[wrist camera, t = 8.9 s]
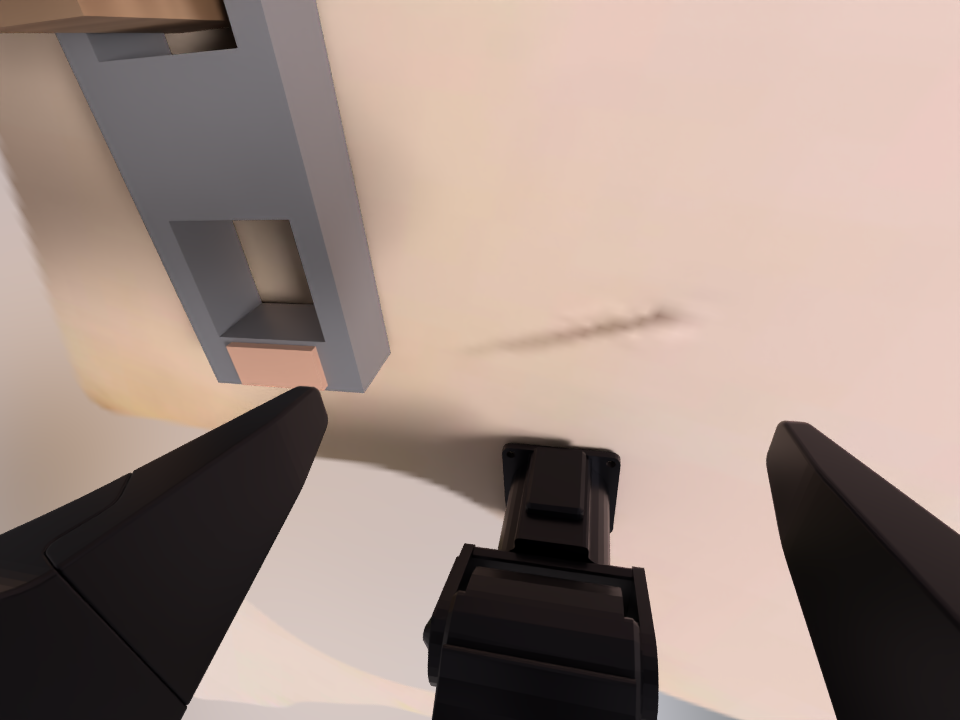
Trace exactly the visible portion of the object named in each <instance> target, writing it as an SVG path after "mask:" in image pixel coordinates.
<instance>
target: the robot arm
mask: <svg viewBox="0 0 960 720" xmlns="http://www.w3.org/2000/svg"><path fill="white" fill-rule="evenodd" d="M327 424H328V416H327V413H326V410H325V407H324V404H323V400H322V397H321V394H320V392H319V390H318V389H317V388H315V387H309V386H297V387H295V388H293V389H291V390H289V391H287V392H285V393H283V394H281V395H279V396H277V397H275V398H274V399H272V400H270V401H268V402H266V403H264V404H262V405H260V406H258V407H256V408H254V409H252V410H250V411H248V412H246V413H244V414H243V415H241V416H239V417H237V418H235V419H233V420H231V421H229V422H227V423H225V424H223V425H221V426H219V427H217V428H215V429H213V430H212V431H210V432H208V433H206V434H204V435H202V436H200V437H198V438H196V439H194V440H192V441H190V442H188V443H186V444H184V445H182V446H181V447H179V448H177V449H175V450H173V451H171V452H169V453H167V454H165V455H163V456H161V457H159V458H158V459H156V460H153V461H151V462H150V463H148V464H146V465H144V466H142V467H140V468H138V469H136V470H134V471H133V473H128V474H126V475H124V476H122V477H120V478H119V479H116V480H115V481H113V482H111V483H109V484H107V485H105V486H103V487H101V488H99V489H97V490H95V491H93V492H91V493H89V494H87V495H85V496H83V497H81V498H79V499H77V500H74V501H72V502H70V503H68V504H66V505H64V506H62V507H60V508H58V509H56V510H53V511H51V512H49V513H47V514H45V515H42V516H40V517H38V518H36V519H34V520H32V521H30V522H27V523H25V524H23V525H21V526H18V527H16V528H14V529H12V530H10V531H7V532H5V533H4V534H1V535H0V720H181V719H182V717H183V715H184V713H185V711H186V709H187V706H186V705H188V704H189V703H190V701H191V699H192V697H193V695H194V693H195V691H196V689H197V688H198V686H199V684H200V682H201V680H202V678H203V676H204V674H205V672H206V670H207V669H208V667H209V665H210V663H211V661H212V659H213V657H214V655H215V653H216V651H217V650H218V648H219V646H220V644H221V642H222V640H223V638H224V636H225V634H226V632H227V631H228V629H229V627H230V625H231V623H232V621H233V619H234V617H235V615H236V613H237V611H238V610H239V608H240V606H241V604H242V602H243V600H244V598H245V596H246V594H247V592H248V591H249V589H250V587H251V585H252V583H253V581H254V579H255V577H256V575H257V573H258V572H259V570H260V568H261V566H262V564H263V562H264V560H265V558H266V556H267V554H268V553H269V550H270V548H271V547H272V545H273V543H274V541H275V539H276V537H277V535H278V534H279V532H280V530H281V528H282V526H283V524H284V522H285V520H286V518H287V516H288V515H289V512H290V511H291V509H292V507H293V505H294V503H295V501H296V499H297V497H298V495H299V493H300V491H301V489H302V487H303V485H304V483H305V480H306V478H307V476H308V473H309V470H310V468H311V466H312V463H313V461H314V458H315V456H316V453H317V451H318V448H319V446H320V443H321V441H322V438H323V436H324V433H325V431H326V428H327ZM509 451H511V452H514V453H511V452H509ZM502 459H503V473H504V487H505V502H506V511H505V516H504V521H503V526H502V531H501V536H500V541H499V546H498V550H496V549H489V548H481V547H475V545H473V544H466V543H465V544H464V546H463V548H462V550H461V553H460V555H459V557H456V560H455V562H454V564H453V567H452V569H451V572H450V574H449V576H448V579H447V581H446V583H445V586H444V588H443V591H442V593H441V595H440V597H439V600H438V602H437V604H436V607H435V609H434V612H433V614H432V617H431V618H430V620H429V621H428V623H427V624H426V626H425V629H424V633H423V641H424V643H425V644H426V646H427V648H428V678H429V683H430V685H431V686H436V693H435V701H434V708H433V715H432V720H657V713H658V688H659V684H658V657H657V646H656V638H655V632H654V625H653V619H652V613H651V607H650V601H649V595H648V589H647V582H646V576H645V570H644V568H640V567H632V568H625V567H618V566H611V565H610V533H611V532H612V530H613V523H614V515H615V507H616V499H617V490H618V482H619V474H620V466H621V464H620V457H619V455H617V454H616V453H612V452H602V451H591V450H580V449H569V448H558V447H547V446H536V445H525V444H514V443H508V444H506V445H505V446H504V448H503V452H502ZM608 461H614V462H608ZM766 466H767V472H768V477H769V483H770V488H771V493H772V498H773V504H774V509H775V514H776V520H777V525H778V530H779V535H780V540H781V545H782V548H783V552H784V555H785V559H786V562H787V565H788V568H789V571H790V574H791V577H792V580H793V584H794V587H795V590H796V593H797V596H798V599H799V602H800V605H801V609H802V612H803V615H804V618H805V621H806V624H807V627H808V630H809V634H810V637H811V640H812V643H813V646H814V649H815V652H816V655H817V658H818V662H819V665H820V668H821V671H822V674H823V677H824V680H825V683H826V687H827V690H828V693H829V696H830V699H831V702H832V705H833V708H834V712H835V715H836V718H837V720H960V534H958V533H957V532H956V531H954V530H953V529H951V528H950V527H949V526H947V525H946V524H945V523H943V522H942V521H941V520H939V519H938V518H937V517H935V516H934V515H932V514H931V513H930V512H928V511H927V510H926V509H924V508H923V507H922V506H920V505H919V504H918V503H916V502H915V501H914V500H912V499H911V498H909V497H908V496H907V495H905V494H904V493H903V492H901V491H900V490H899V489H897V488H896V487H895V486H893V485H892V484H890V483H889V482H888V481H886V480H885V479H884V478H882V477H881V476H880V475H878V474H877V473H876V472H874V471H873V470H871V469H870V468H869V467H867V466H866V465H865V464H863V463H862V462H861V461H859V460H858V459H857V458H855V457H854V456H853V455H851V454H850V453H848V452H847V451H846V450H844V449H843V448H842V447H840V446H839V445H838V444H836V443H835V442H834V441H832V440H831V439H829V438H828V437H827V436H825V435H824V434H823V433H821V432H820V431H819V430H817V429H816V428H815V427H813V426H812V425H810V424H809V423H806V422H797V421H782V422H780V423H779V424H778V426H777V428H776V430H775V433H774V436H773V439H772V442H771V445H770V447H769V450H768V453H767V458H766Z"/></svg>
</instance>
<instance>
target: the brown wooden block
mask: <svg viewBox="0 0 960 720" xmlns="http://www.w3.org/2000/svg"><path fill="white" fill-rule="evenodd" d="M227 27H231V24H230V21H229V17H228V14H227V10H226V7H225V4H224V0H0V33H185V32H194V31H202V30H210V29H218V28H227Z"/></svg>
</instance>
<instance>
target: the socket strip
mask: <svg viewBox="0 0 960 720" xmlns="http://www.w3.org/2000/svg"><path fill="white" fill-rule="evenodd" d="M224 4H225V7H226V10H227V14H228V17H229V21H230V24H231V27H232V31H233V34H234V37H235V41H236V44H237V47H238V48H234V49H224V50H214V51H204V52H194V53H185V54H175V55H172V54H171V51H170V49H169V46H168V43H167V40H166V38H165V35H164V33H55V34H56V36H57V38H58V40H59V43H60V45H61V47H62V49H63V51H64V53H65V55H66V58H67V60H68V62H69V64H70V66H71V68H72V70H73V73H74V75H75V77H76V79H77V81H78V83H79V85H80V87H81V90H82V92H83V94H84V96H85V98H86V100H87V102H88V105H89V107H90V109H91V111H92V113H93V115H94V117H95V120H96V122H97V124H98V126H99V128H100V130H101V132H102V135H103V137H104V139H105V141H106V143H107V145H108V147H109V149H110V152H111V154H112V156H113V158H114V160H115V162H116V164H117V167H118V169H119V171H120V173H121V175H122V177H123V179H124V182H125V184H126V186H127V188H128V190H129V192H130V194H131V196H132V199H133V201H134V203H135V205H136V207H137V209H138V211H139V214H140V216H141V218H142V220H143V222H144V224H145V226H146V229H147V231H148V233H149V235H150V237H151V239H152V241H153V244H154V246H155V248H156V250H157V252H158V254H159V256H160V258H161V261H162V263H163V265H164V267H165V269H166V271H167V273H168V276H169V278H170V280H171V282H172V284H173V286H174V288H175V291H176V293H177V295H178V297H179V299H180V301H181V303H182V305H183V308H184V310H185V312H186V314H187V316H188V318H189V320H190V323H191V325H192V327H193V329H194V331H195V333H196V335H197V338H198V340H199V342H200V344H201V346H202V348H203V350H204V353H205V355H206V357H207V359H208V361H209V363H210V365H211V367H212V370H213V372H214V374H215V376H216V378H217V380H218V382H219V383H233V384H242V385H254V386H267V387H281V388H295V387H297V386H309V387H315V388H317V389H318V390H322V391H324V390H328V391H342V392H356V393H365V391H366V390H367V388H368V387H369V385H370V384H371V382H372V381H373V379H374V378H375V376H376V374H377V373H378V371H379V370H380V368H381V367H382V365H383V364H384V362H385V361H386V359H387V358H388V356H389V355H390V353H391V352H390V347H389V342H388V338H387V333H386V328H385V324H384V319H383V314H382V310H381V305H380V300H379V295H378V291H377V286H376V281H375V277H374V272H373V267H372V263H371V258H370V253H369V248H368V244H367V239H366V234H365V230H364V225H363V220H362V215H361V211H360V206H359V201H358V197H357V192H356V187H355V183H354V178H353V173H352V168H351V164H350V159H349V154H348V150H347V145H346V140H345V136H344V131H343V126H342V121H341V117H340V112H339V107H338V103H337V98H336V93H335V89H334V84H333V79H332V74H331V70H330V65H329V60H328V56H327V51H326V46H325V42H324V37H323V32H322V27H321V23H320V18H319V13H318V9H317V4H316V0H224ZM232 220H289V222H290V225H291V229H292V232H293V235H294V239H295V242H296V245H297V249H298V252H299V255H300V259H301V262H302V266H303V269H304V272H305V276H306V279H307V282H308V286H309V289H310V292H311V296H312V299H313V302H314V305H311V304H279V303H262V301H261V299H260V296H259V293H258V290H257V288H256V285H255V282H254V279H253V277H252V274H251V271H250V268H249V266H248V263H247V260H246V257H245V255H244V252H243V249H242V246H241V244H240V241H239V238H238V235H237V233H236V230H235V227H234V224H233V222H232Z"/></svg>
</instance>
